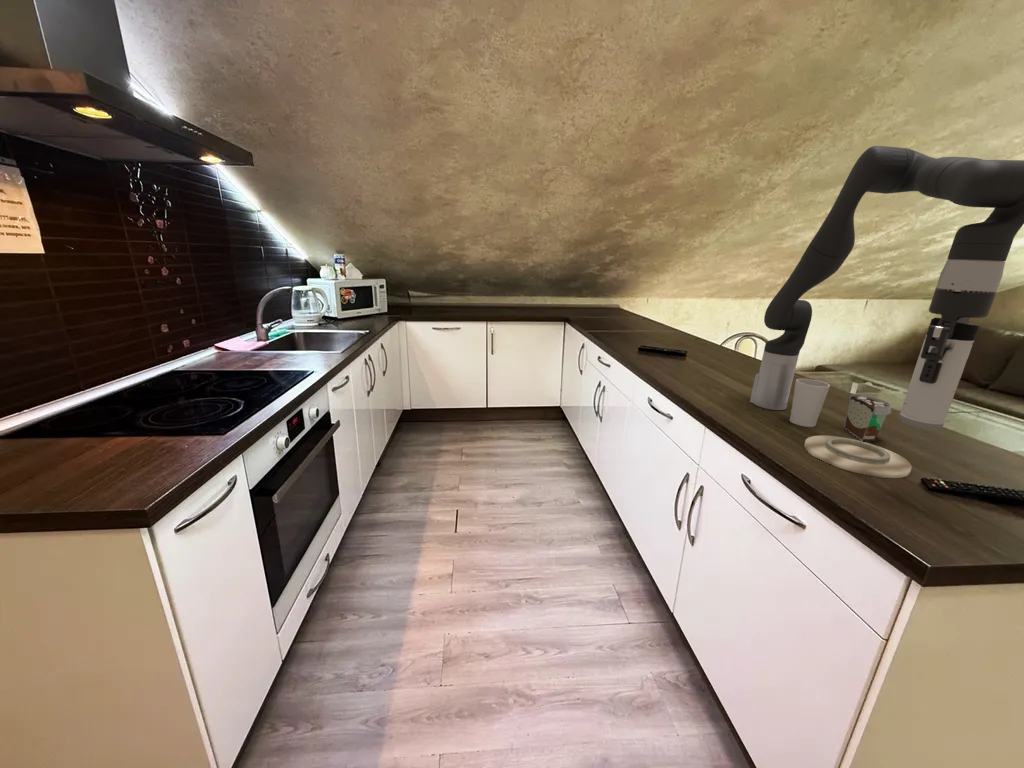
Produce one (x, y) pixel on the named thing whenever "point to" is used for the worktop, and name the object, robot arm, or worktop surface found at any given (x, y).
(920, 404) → the travel mug
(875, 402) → the food container
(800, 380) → the cup
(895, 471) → the round plate
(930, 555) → the worktop surface
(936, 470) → the worktop surface
